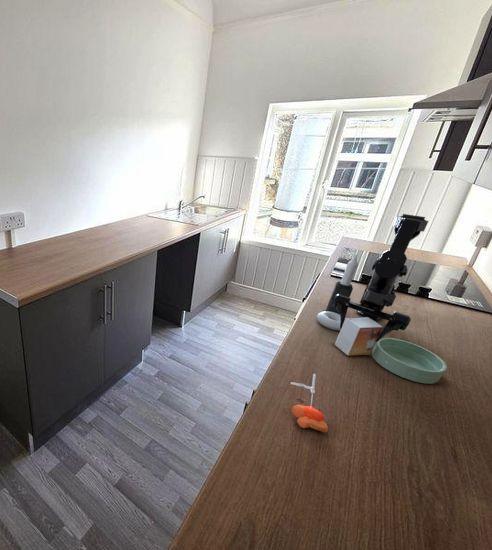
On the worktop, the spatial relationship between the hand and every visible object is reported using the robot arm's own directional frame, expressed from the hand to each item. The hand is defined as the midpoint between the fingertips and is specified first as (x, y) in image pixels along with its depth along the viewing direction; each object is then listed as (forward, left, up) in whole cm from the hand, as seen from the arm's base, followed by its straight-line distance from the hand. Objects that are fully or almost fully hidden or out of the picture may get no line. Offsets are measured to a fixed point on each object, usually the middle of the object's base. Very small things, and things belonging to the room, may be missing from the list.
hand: (357, 334), depth 90 cm
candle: (-21, -12, -7) cm, 25 cm away
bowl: (-6, +12, -6) cm, 15 cm away
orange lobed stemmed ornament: (+40, +3, -7) cm, 40 cm away
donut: (-13, -10, -7) cm, 18 cm away
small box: (-1, 0, -7) cm, 7 cm away
